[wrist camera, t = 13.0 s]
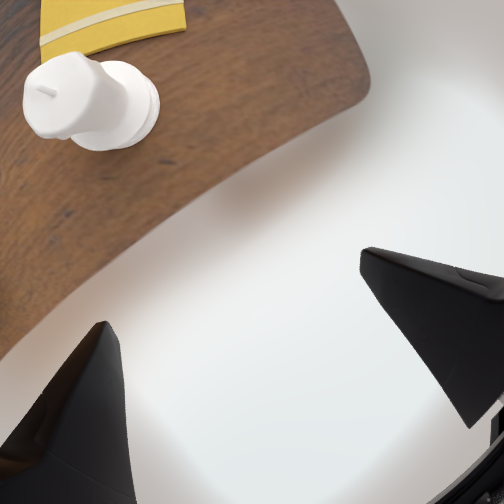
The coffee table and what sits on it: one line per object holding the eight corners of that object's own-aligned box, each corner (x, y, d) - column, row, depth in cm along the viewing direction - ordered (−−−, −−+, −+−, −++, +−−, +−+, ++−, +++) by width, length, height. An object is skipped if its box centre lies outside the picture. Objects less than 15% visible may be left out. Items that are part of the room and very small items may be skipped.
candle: (68, 126, 14) (-45, 147, 4) (113, 58, 13) (47, -18, 3) (130, 162, 17) (77, 227, 6) (176, 95, 16) (191, 50, 5)
